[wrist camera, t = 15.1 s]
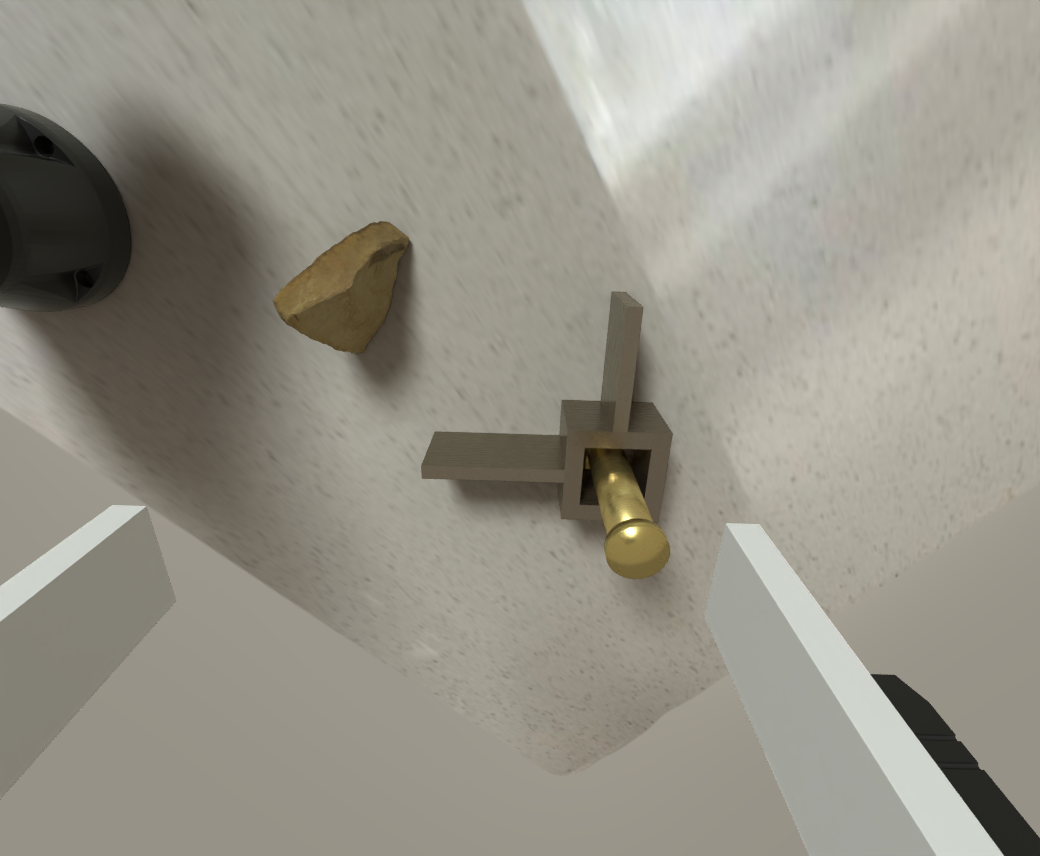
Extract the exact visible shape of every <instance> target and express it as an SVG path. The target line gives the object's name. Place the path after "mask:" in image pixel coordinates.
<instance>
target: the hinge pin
mask: <svg viewBox="0 0 1040 856" xmlns="http://www.w3.org/2000/svg"><path fill="white" fill-rule="evenodd" d="M584 465H585V469H590V470H591V474H592V478H593V482H594V486H595V490H596V494H597V498H598V502H599V506H600V510H601V514H602V518H603V522H604V526H605V530H606V534H607V536H606V538H605V542H604V550H605V555H606V559H607V563H608V565H609V566H610V568H611V569H612V570H613V571H614V572H615V573H616V574H618V575H620V576H622V577H625V578H630V579H641V578H646V577H649V576H652V575H654V574H655V573H657V572H659V571H660V570H661V569H662V568H663V567H664V566H665V565H666V563H667V561H668V559H669V556H670V546H669V543H668V540H667V538H666V536H665V533H664V531H663V530H662V529H661V527H660V526H659V525H657V524H656V523H654V522H653V520H652V518H651V515H650V513H649V510H648V508H647V505H646V503H645V500H644V498H643V495H642V493H641V491H640V488H639V486H638V483H637V481H636V478H635V476H634V473H633V471H632V468H631V466H630V464H629V461H628V459H627V456H626V454H625V451H624V449H614V448H585V459H584Z"/></svg>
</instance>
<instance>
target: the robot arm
mask: <svg viewBox="0 0 1040 856" xmlns="http://www.w3.org/2000/svg"><path fill="white" fill-rule="evenodd" d="M130 249H131V237H130V228H129V222H128V218H127V214H126V211H125V208H124V205H123V202H122V200H121V198H120V195H119V193H118V191H117V189H116V187H115V185H114V183H113V182H112V180H111V178H110V177H109V175H108V174H107V172H106V171H105V169H104V168H103V167H102V165H101V164H100V163H99V161H98V160H97V159H96V158H95V156H94V155H93V154H92V153H91V152H90V151H89V150H88V149H87V148H86V147H85V146H84V145H83V144H82V143H81V142H80V141H79V140H78V139H76V138H75V137H74V136H73V135H72V134H70V133H69V132H68V131H66V130H65V129H64V128H62V127H61V126H59V125H58V124H56V123H54V122H53V121H51V120H49V119H47V118H45V117H43V116H41V115H39V114H37V113H34V112H32V111H29V110H26V109H23V108H19V107H15V106H10V105H5V104H0V307H6V308H13V309H21V310H29V311H37V312H56V311H64V310H69V309H73V308H78V307H82V306H86V305H90V304H93V303H95V302H97V301H100V300H101V299H103V298H105V297H106V296H107V295H109V294H110V293H111V292H112V291H113V290H114V289H115V288H116V287H117V286H118V284H119V283H120V281H121V280H122V278H123V276H124V274H125V272H126V269H127V266H128V262H129V258H130ZM175 602H176V599H175V595H174V592H173V589H172V586H171V583H170V579H169V576H168V573H167V570H166V567H165V564H164V560H163V557H162V554H161V551H160V548H159V545H158V541H157V538H156V535H155V532H154V529H153V526H152V522H151V519H150V516H149V513H148V510H147V507H146V506H124V505H123V506H122V505H112V506H111V507H109V508H108V509H106V510H105V511H104V512H103V513H101V514H100V515H98V516H97V517H95V518H94V519H93V520H92V521H90V522H88V523H87V524H86V525H84V526H83V527H82V528H80V529H79V530H78V531H76V532H75V533H73V534H72V535H71V536H69V537H68V538H66V539H65V540H64V541H62V542H61V543H60V544H58V545H57V546H55V547H54V548H53V549H51V550H50V551H48V552H47V553H46V554H44V555H43V556H41V557H40V558H39V559H38V560H36V561H35V562H33V563H32V564H30V565H29V566H28V567H26V568H25V569H24V570H22V571H21V572H20V573H18V574H17V575H15V576H14V577H12V578H11V579H10V580H8V581H7V582H6V583H4V584H3V585H1V586H0V800H1V798H2V797H3V796H4V795H5V794H6V792H8V791H9V789H10V788H11V787H12V786H13V785H14V784H15V783H16V781H17V780H18V779H19V778H20V777H21V776H22V775H23V774H24V772H25V771H26V770H27V769H28V768H29V767H30V766H31V765H32V763H33V762H34V761H35V760H36V759H37V758H38V757H39V755H40V754H41V753H42V752H43V751H44V750H45V749H46V748H47V746H48V745H49V744H50V743H51V742H52V741H53V740H54V738H55V737H56V736H57V735H58V734H59V733H60V732H61V730H62V729H63V728H64V727H65V726H66V725H67V724H68V723H69V722H70V720H71V719H72V718H73V717H74V716H75V715H76V714H77V713H78V711H79V710H80V709H81V708H82V707H83V706H84V705H85V703H86V702H87V701H88V700H89V699H90V698H91V697H92V696H93V694H94V693H95V692H96V691H97V690H98V689H99V687H100V686H101V685H102V684H103V683H104V682H105V681H106V680H107V679H108V677H109V676H110V675H111V674H112V673H113V672H114V671H115V669H116V668H117V667H118V666H119V665H120V664H121V663H122V662H123V660H124V659H125V658H126V657H127V656H128V655H129V654H130V652H132V650H133V649H134V648H135V647H136V646H137V645H138V644H139V642H140V641H141V640H142V639H143V638H144V637H145V636H146V635H147V633H148V632H149V631H150V630H151V629H152V628H153V627H154V626H155V624H156V623H157V622H158V621H159V620H160V619H161V618H162V616H163V615H164V614H165V613H166V612H167V611H168V610H169V609H170V607H171V606H172V605H173V604H174V603H175ZM704 617H705V619H706V621H707V624H708V626H709V628H710V631H711V633H712V635H713V637H714V640H715V642H716V644H717V646H718V649H719V651H720V653H721V656H722V658H723V660H724V662H725V665H726V667H727V669H728V672H729V674H730V676H731V678H732V681H733V683H734V685H735V688H736V690H737V692H738V694H739V697H740V699H741V701H742V704H743V706H744V708H745V710H746V713H747V715H748V717H749V719H750V722H751V724H752V726H753V729H754V731H755V733H756V735H757V738H758V740H759V742H760V744H761V747H762V749H763V751H764V753H765V756H766V758H767V760H768V763H769V765H770V767H771V769H772V772H773V774H774V777H775V779H776V781H777V783H778V786H779V788H780V790H781V793H782V795H783V797H784V799H785V801H786V804H787V806H788V808H789V810H790V813H791V815H792V818H793V820H794V822H795V824H796V827H797V829H798V831H799V834H800V836H801V838H802V840H803V843H804V845H805V847H806V850H807V852H808V854H809V856H1040V838H1039V837H1038V835H1037V834H1036V833H1035V832H1034V831H1033V829H1032V828H1031V827H1030V826H1029V825H1028V823H1027V822H1026V821H1025V820H1024V818H1023V817H1022V816H1021V815H1020V813H1019V812H1018V811H1017V810H1016V808H1015V807H1014V806H1013V805H1012V804H1011V802H1010V801H1009V800H1008V799H1007V797H1006V796H1005V795H1004V794H1003V793H1002V791H1001V790H1000V789H999V788H998V786H997V785H996V784H995V783H994V782H993V780H992V779H991V778H990V777H989V775H988V774H987V773H986V772H985V771H984V770H981V769H980V768H979V767H978V762H977V761H976V760H975V758H974V757H973V756H972V755H971V753H970V752H969V751H968V750H967V748H966V747H965V746H964V745H963V744H962V742H961V741H957V740H956V738H955V734H954V732H953V731H952V730H951V729H950V728H949V726H948V725H947V724H946V723H945V721H944V720H943V719H942V718H941V717H940V715H939V714H938V713H937V712H936V710H935V709H934V708H933V707H932V706H931V704H930V703H929V702H928V701H927V700H925V699H924V698H923V697H922V696H920V695H919V694H918V693H917V692H915V691H914V690H913V689H912V688H910V687H909V686H908V685H907V684H905V683H904V682H903V681H901V680H900V679H899V678H898V677H897V676H896V675H878V674H869V672H868V671H867V670H866V668H865V667H864V665H863V664H862V663H861V661H860V660H859V659H858V657H857V656H856V655H855V653H854V652H853V651H852V649H851V648H850V647H849V645H848V644H847V643H846V641H845V640H844V638H843V637H842V636H841V634H840V633H839V632H838V630H837V629H836V628H835V626H834V625H833V623H832V622H831V621H830V619H829V618H828V617H827V615H826V614H825V613H824V611H823V610H822V609H821V607H820V606H819V605H818V603H817V602H816V600H815V599H814V598H813V596H812V595H811V594H810V592H809V591H808V590H807V588H806V587H805V586H804V584H803V583H802V582H801V580H800V579H799V577H798V576H797V575H796V573H795V572H794V571H793V569H792V568H791V567H790V565H789V564H788V563H787V561H786V560H785V558H784V557H783V556H782V554H781V553H780V552H779V550H778V549H777V548H776V546H775V545H774V544H773V542H772V541H771V540H770V538H769V537H768V535H767V534H766V533H765V531H764V530H763V529H762V527H761V526H760V525H759V524H731V523H726V524H725V528H724V533H723V537H722V541H721V546H720V550H719V554H718V559H717V563H716V567H715V572H714V576H713V580H712V585H711V589H710V593H709V598H708V602H707V606H706V611H705V615H704Z"/></svg>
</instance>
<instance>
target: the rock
mask: <svg viewBox="0 0 1040 856" xmlns="http://www.w3.org/2000/svg"><path fill="white" fill-rule="evenodd" d="M408 242H409V237H407V236H406V235H405V234H404V233H402V232H401V231H400V230H398V229H397V228H396V227H395V226H394V225H392V224H391V223H389V222H386V221H385V222H383V221H380V222H379V223H375V222H373V223H370V224H369V225H367V226H366V227H364V228H363V229H360V230H359V231H357V232H353V233H351V234H350V235H348V236H347V237H345V238H344V239H343V240H342V241H341V242H339V243H338V244H335V245H334V246H332V247H331V248H330V249H329V250H327V251H325V252H324V253H323V254H321V255H320V256H319V257H317V258H316V260H315V261H314V262H313V264H312V265H310V266H309V267H307V268H306V269H305V270H304V271H303V272H301V273H300V274H299V275H297V276H296V277H295V278H294V279H293V280H291V281H290V282H289V283H288V284H287V285H286V286H285V287H283V288H282V289H281V290H280V291H279V292H278V294H277V295H276V297H275V298H274V299H273V302H274V305H275V308H276V310H277V312H278V314H279V316H280V317H281V319H282V320H283V321H284V322H285V323H286V324H287V325H289V326H291V327H293V328H294V329H296V330H297V331H299V332H300V333H301V334H305V335H306V336H308V337H309V338H310V339H313V340H316V341H319V342H321V343H323V344H327V345H329V346H331V347H333V348H334V349H335V350H339V351H343V352H346V351H347V352H351V353H354V352H356V353H363V352H364V351H365V347H366V344H367V343H368V342H369V341H370V339H371V338H372V336H373V335H374V334H375V333H376V332H377V331H378V330H379V328H380V326H381V325H382V324H384V322H385V317H386V314H387V312H388V309H389V308H390V305H391V298H392V295H393V291H392V289H393V286H394V282H395V281H396V277H397V267H398V261H399V259H400V258H401V257H402V255H403V253H404V252H405V251H406V249H407V247H408Z"/></svg>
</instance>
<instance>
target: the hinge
mask: <svg viewBox="0 0 1040 856" xmlns="http://www.w3.org/2000/svg"><path fill="white" fill-rule="evenodd" d="M642 314H643V306H642V305H641V304H639V303H638V302H637V301H636V300H635V299H633V298H632V297H631V296H630V295H629V294H628V293H626V292H612V294H611V304H610V314H609V324H608V334H607V344H606V354H605V364H604V374H603V384H602V394H601V401H580V400H562V405H561V420H560V435H528V434H495V433H462V432H435V433H434V435H433V438H432V440H431V443H430V445H429V448H428V450H427V453H426V455H425V458H424V460H423V463H422V465H421V471H422V478H423V479H457V480H490V481H523V482H557V488H558V497H559V505H560V514H561V519H576V520H603V518H602V514H601V510H600V506H599V502H598V498H597V494H596V490H595V486H594V482H593V478H592V474H591V470H590V469H585V465H584V459H585V448H614V449H624V451H625V454H626V456H627V459H628V461H629V464H630V466H631V468H632V471H633V473H634V476H635V478H636V481H637V483H638V486H639V488H640V491H641V493H642V495H643V498H644V500H645V503H646V505H647V508H648V510H649V513H650V515H651V518H652V520H653V522H658V519H659V513H660V507H661V501H662V495H663V489H664V483H665V477H666V471H667V465H668V459H669V453H670V447H671V441H672V435H673V433H672V432H671V430H670V429H669V427H668V426H667V424H666V422H665V421H664V419H663V418H662V416H661V415H660V413H659V412H658V410H657V409H656V407H655V406H654V404H653V403H646V402H632V394H633V386H634V378H635V370H636V362H637V354H638V346H639V338H640V330H641V322H642Z"/></svg>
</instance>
